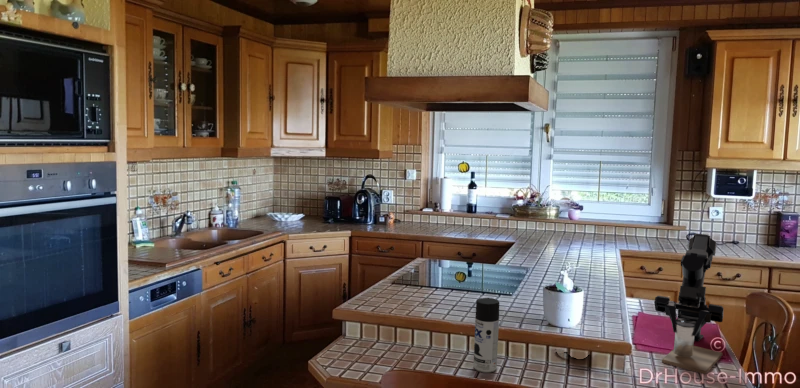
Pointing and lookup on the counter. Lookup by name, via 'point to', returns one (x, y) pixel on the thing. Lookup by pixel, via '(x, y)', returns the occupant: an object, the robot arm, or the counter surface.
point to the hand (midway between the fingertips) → (684, 333)
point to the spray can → (486, 335)
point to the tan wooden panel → (694, 360)
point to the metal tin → (684, 337)
